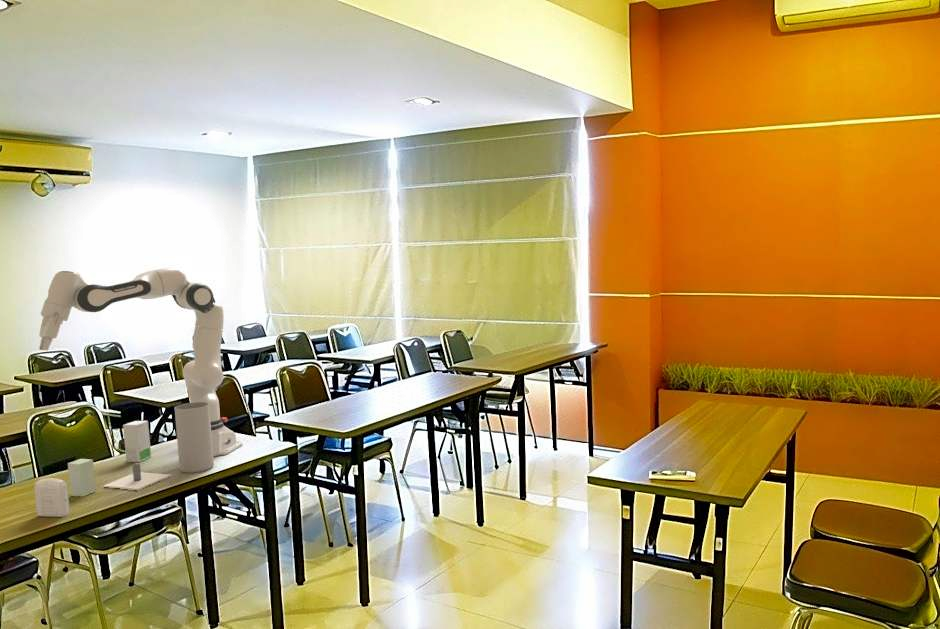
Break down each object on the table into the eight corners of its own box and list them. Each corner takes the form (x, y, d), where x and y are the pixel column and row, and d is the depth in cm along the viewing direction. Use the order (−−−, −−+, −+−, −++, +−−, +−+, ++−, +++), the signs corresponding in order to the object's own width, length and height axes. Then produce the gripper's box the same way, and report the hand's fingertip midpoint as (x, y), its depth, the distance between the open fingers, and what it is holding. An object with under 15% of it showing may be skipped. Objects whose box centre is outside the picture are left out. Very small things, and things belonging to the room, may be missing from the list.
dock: (137, 473, 280) (135, 455, 279) (170, 476, 275) (168, 457, 274) (103, 487, 265) (101, 468, 264) (138, 490, 260) (136, 471, 259)
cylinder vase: (174, 474, 278) (169, 410, 275) (187, 464, 290) (182, 402, 288) (207, 472, 278) (201, 408, 275) (218, 463, 290) (213, 401, 288)
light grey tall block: (84, 490, 263) (81, 458, 262) (95, 491, 261) (92, 459, 260) (70, 495, 258) (67, 463, 257) (82, 497, 256) (79, 464, 255)
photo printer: (72, 512, 240) (68, 476, 239) (63, 517, 236) (59, 480, 235) (44, 512, 242) (40, 476, 241) (34, 517, 238) (30, 480, 236)
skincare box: (139, 462, 295) (135, 425, 294) (124, 462, 297) (121, 425, 295) (152, 456, 304) (148, 420, 302) (138, 456, 305) (134, 420, 303)
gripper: (68, 314, 258) (56, 352, 256) (61, 316, 275) (49, 352, 272) (49, 309, 255) (36, 347, 252) (42, 311, 271) (30, 347, 269)
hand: (43, 350), depth 262 cm, fingers open, 8 cm apart
